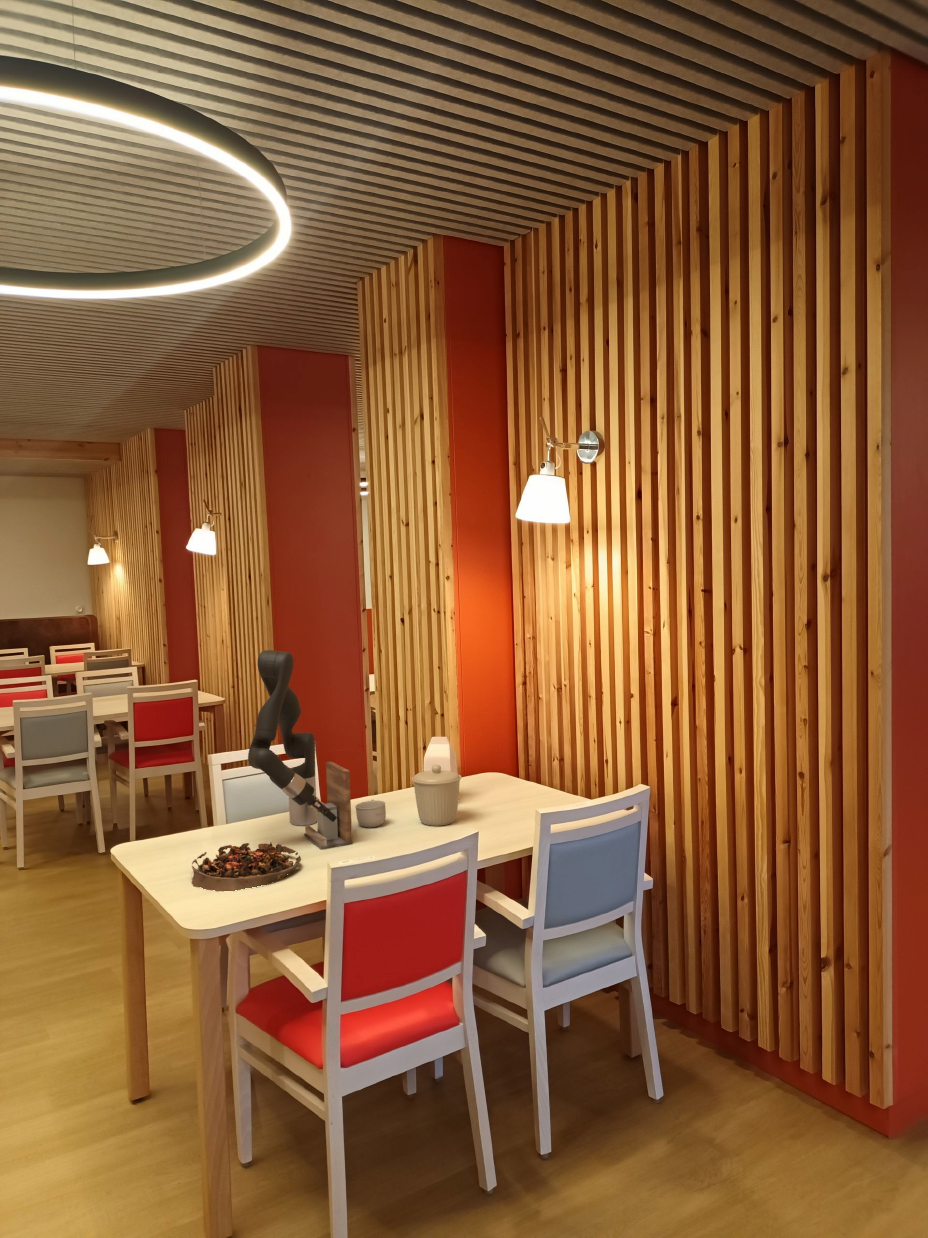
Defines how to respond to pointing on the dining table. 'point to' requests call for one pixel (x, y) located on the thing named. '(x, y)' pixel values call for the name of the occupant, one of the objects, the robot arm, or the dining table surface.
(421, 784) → the canister
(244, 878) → the food dish
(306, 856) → the dining table surface
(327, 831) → the grey box
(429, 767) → the milk
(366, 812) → the teacup
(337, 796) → the wall board
